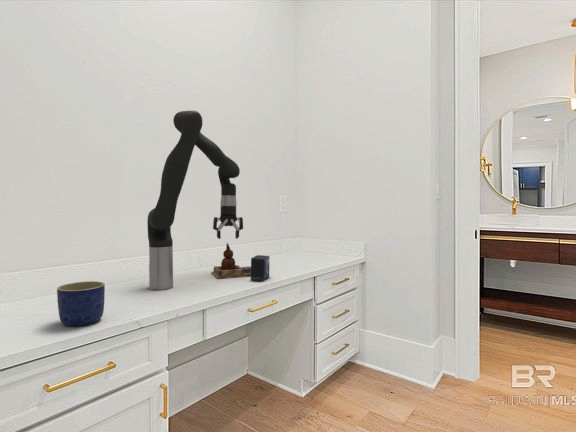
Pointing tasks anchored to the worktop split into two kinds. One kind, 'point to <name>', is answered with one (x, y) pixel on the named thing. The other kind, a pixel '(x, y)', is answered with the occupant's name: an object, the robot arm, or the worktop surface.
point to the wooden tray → (231, 272)
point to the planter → (81, 302)
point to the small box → (260, 268)
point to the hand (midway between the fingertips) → (228, 238)
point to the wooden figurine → (228, 260)
